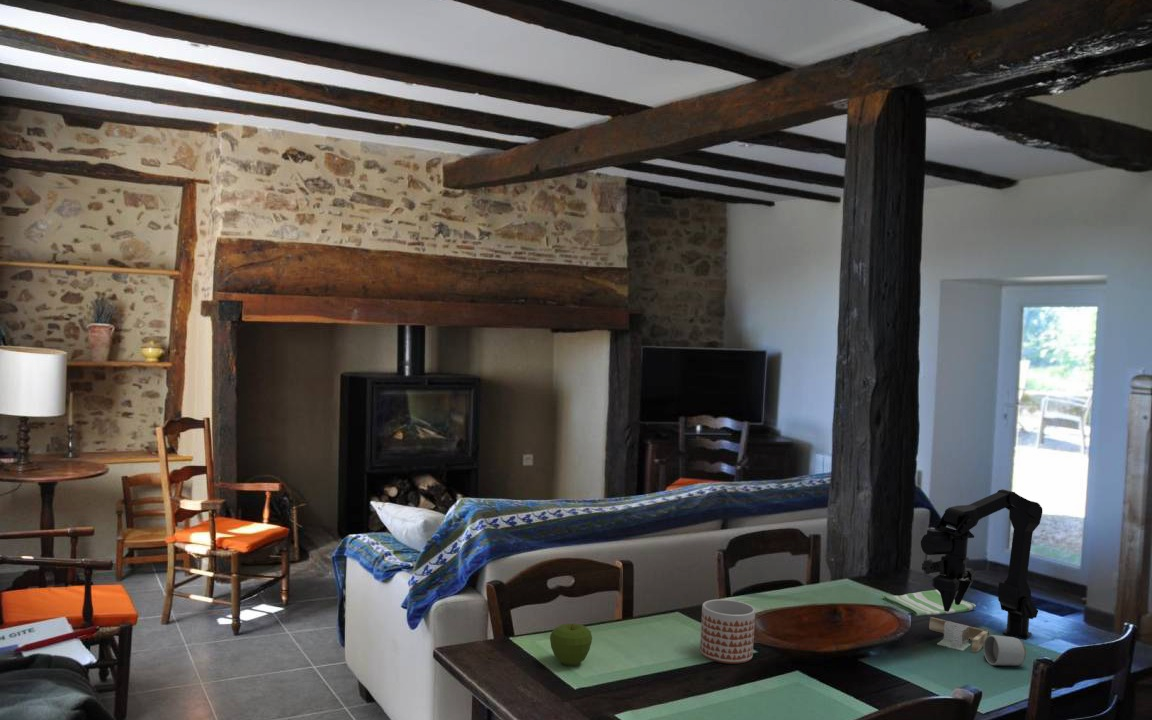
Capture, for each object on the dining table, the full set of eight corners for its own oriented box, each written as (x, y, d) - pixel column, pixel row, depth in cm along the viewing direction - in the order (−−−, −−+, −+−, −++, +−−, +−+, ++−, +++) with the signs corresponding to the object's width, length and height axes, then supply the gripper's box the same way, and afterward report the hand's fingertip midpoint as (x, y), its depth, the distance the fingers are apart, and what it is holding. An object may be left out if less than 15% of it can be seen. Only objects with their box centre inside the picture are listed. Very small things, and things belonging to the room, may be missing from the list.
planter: (762, 655, 239) (765, 608, 239) (733, 668, 229) (736, 618, 229) (719, 641, 248) (721, 595, 248) (689, 653, 238) (692, 605, 238)
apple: (570, 652, 235) (572, 614, 234) (600, 664, 227) (602, 625, 227) (539, 661, 227) (541, 622, 227) (569, 674, 220) (571, 634, 219)
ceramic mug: (1027, 669, 238) (1028, 640, 238) (997, 669, 237) (999, 640, 237) (1003, 655, 249) (1005, 627, 249) (975, 655, 248) (977, 627, 248)
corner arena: (930, 628, 268) (931, 616, 268) (988, 643, 258) (989, 630, 258) (916, 637, 259) (917, 625, 259) (975, 653, 249) (976, 640, 249)
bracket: (968, 643, 255) (969, 626, 255) (961, 648, 251) (962, 631, 251) (946, 638, 259) (947, 620, 259) (939, 643, 255) (940, 625, 255)
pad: (945, 638, 260) (945, 637, 260) (971, 645, 255) (971, 644, 255) (937, 644, 255) (937, 643, 254) (963, 651, 250) (963, 650, 250)
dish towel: (880, 600, 296) (880, 591, 296) (938, 596, 304) (939, 588, 304) (917, 618, 280) (917, 609, 280) (978, 613, 287) (978, 604, 287)
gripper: (937, 542, 269) (934, 594, 269) (915, 552, 254) (911, 607, 255) (977, 550, 261) (973, 603, 262) (956, 561, 247) (952, 617, 248)
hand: (951, 607), depth 257 cm, fingers open, 9 cm apart
